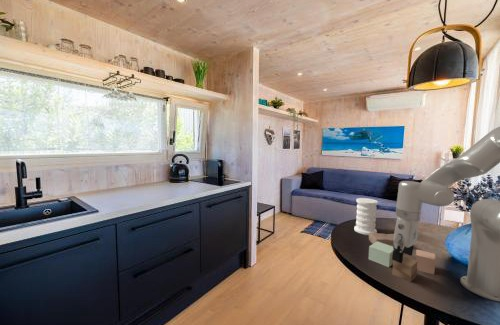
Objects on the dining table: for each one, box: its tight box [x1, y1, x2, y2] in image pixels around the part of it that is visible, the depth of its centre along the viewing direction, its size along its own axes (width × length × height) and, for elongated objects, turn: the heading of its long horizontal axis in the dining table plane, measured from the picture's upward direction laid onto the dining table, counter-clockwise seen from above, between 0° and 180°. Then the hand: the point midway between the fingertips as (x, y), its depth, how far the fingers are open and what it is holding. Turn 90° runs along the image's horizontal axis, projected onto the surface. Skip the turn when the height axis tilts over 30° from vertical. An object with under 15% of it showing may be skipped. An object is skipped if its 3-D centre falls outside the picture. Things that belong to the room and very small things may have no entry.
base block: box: [367, 241, 393, 268], centre depth 96 cm, size 8×8×6 cm
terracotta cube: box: [415, 249, 436, 275], centre depth 89 cm, size 6×6×6 cm
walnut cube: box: [391, 255, 418, 283], centre depth 85 cm, size 6×6×6 cm
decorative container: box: [353, 197, 379, 236], centre depth 126 cm, size 12×12×18 cm
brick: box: [368, 232, 403, 249], centre depth 111 cm, size 16×8×5 cm, turn 87°
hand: (402, 257), depth 85 cm, fingers open, 9 cm apart
